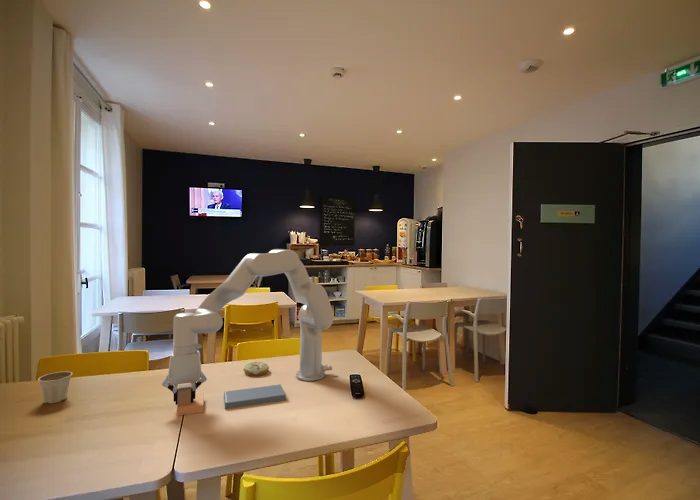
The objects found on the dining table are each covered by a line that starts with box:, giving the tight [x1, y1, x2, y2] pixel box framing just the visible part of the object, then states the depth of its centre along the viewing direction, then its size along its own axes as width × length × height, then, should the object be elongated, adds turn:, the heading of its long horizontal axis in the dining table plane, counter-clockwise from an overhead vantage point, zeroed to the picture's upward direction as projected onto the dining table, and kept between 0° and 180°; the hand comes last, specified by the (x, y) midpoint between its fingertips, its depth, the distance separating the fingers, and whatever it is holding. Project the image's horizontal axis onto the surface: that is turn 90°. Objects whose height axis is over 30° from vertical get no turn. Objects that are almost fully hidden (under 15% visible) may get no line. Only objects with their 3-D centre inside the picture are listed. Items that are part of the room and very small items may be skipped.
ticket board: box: [223, 384, 287, 410], centre depth 129 cm, size 21×10×2 cm, turn 112°
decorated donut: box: [242, 361, 270, 377], centre depth 155 cm, size 10×11×4 cm
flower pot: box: [37, 371, 73, 404], centre depth 124 cm, size 9×9×9 cm
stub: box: [176, 383, 205, 416], centre depth 121 cm, size 8×10×7 cm
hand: (184, 401), depth 120 cm, fingers closed on stub, 4 cm apart
